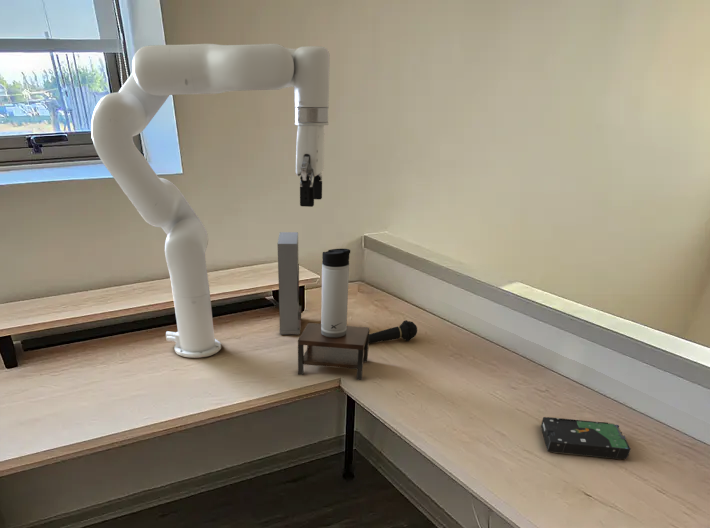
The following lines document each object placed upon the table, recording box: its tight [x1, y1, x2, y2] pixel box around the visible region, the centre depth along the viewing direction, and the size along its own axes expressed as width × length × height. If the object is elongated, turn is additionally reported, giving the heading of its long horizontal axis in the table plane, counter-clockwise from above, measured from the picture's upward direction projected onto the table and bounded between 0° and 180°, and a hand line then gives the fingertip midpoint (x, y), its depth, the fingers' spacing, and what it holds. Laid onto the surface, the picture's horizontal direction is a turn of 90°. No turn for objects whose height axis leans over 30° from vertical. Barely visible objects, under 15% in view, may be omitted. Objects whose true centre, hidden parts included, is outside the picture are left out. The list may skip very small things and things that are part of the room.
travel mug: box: [320, 248, 351, 338], centre depth 132 cm, size 6×7×20 cm
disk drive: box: [540, 416, 632, 460], centre depth 112 cm, size 10×3×15 cm
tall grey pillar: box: [277, 231, 302, 336], centre depth 159 cm, size 14×6×25 cm, turn 179°
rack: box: [297, 322, 370, 381], centre depth 140 cm, size 16×12×9 cm
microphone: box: [368, 320, 418, 345], centre depth 155 cm, size 6×6×20 cm
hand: (311, 202), depth 133 cm, fingers open, 9 cm apart
